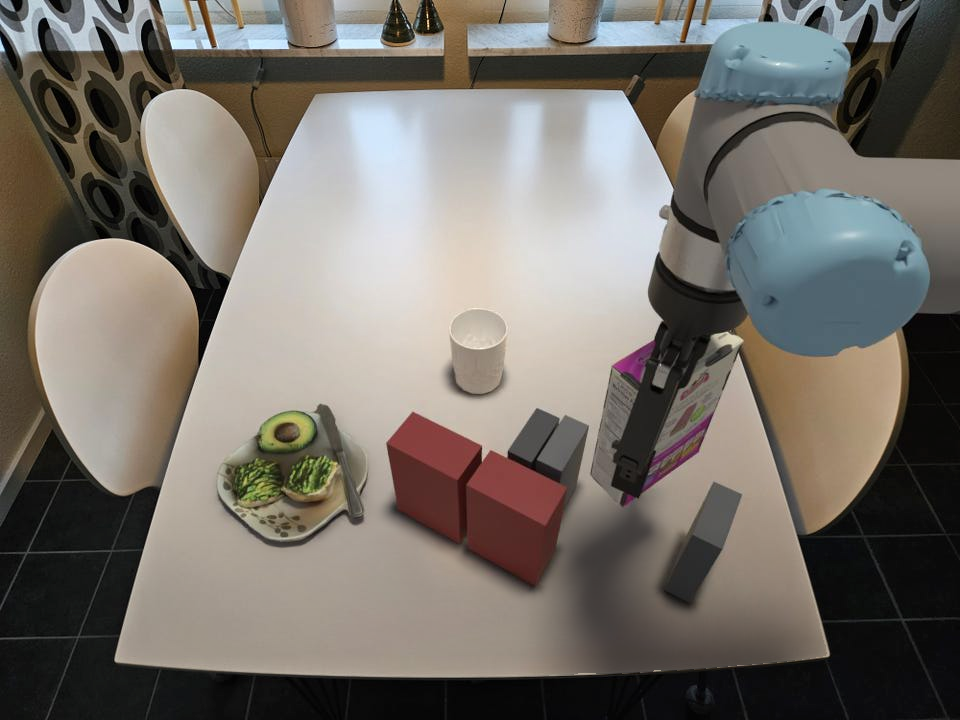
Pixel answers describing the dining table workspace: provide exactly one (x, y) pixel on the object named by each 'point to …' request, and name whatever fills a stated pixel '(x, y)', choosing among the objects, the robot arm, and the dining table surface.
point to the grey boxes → (560, 460)
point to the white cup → (478, 349)
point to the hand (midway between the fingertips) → (650, 441)
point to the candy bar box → (683, 420)
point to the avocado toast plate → (294, 475)
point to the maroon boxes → (476, 496)
